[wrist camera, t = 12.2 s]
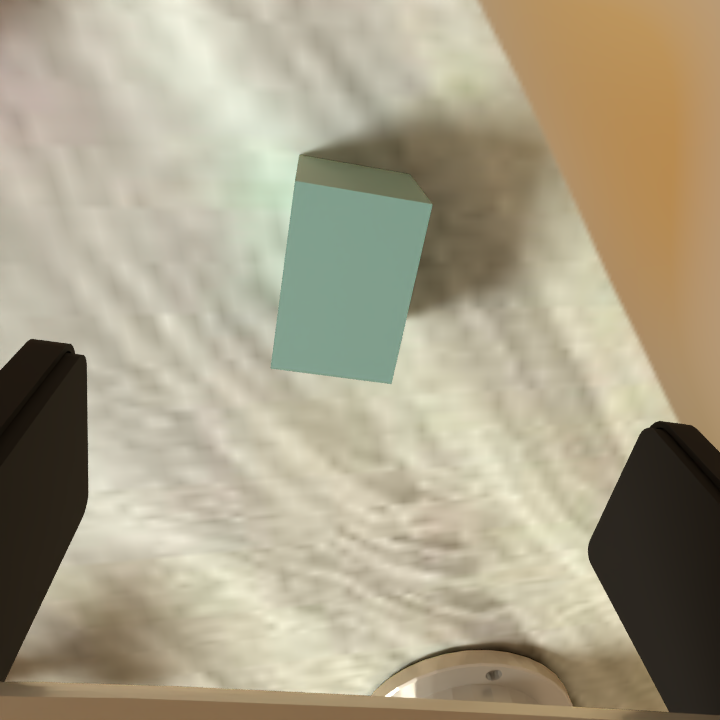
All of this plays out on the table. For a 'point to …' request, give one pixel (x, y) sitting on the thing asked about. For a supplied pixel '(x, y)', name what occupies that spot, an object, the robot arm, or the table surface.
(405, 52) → the table surface
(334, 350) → the teal brick
